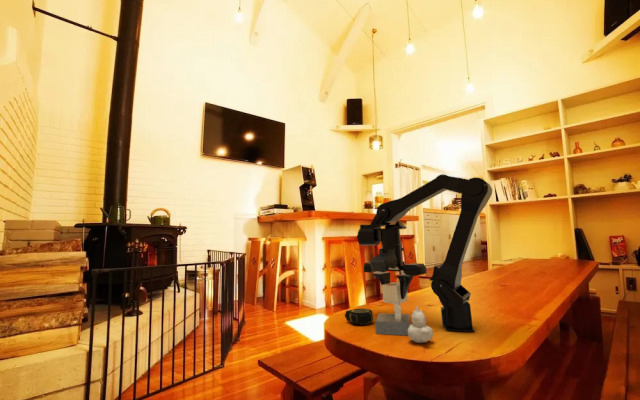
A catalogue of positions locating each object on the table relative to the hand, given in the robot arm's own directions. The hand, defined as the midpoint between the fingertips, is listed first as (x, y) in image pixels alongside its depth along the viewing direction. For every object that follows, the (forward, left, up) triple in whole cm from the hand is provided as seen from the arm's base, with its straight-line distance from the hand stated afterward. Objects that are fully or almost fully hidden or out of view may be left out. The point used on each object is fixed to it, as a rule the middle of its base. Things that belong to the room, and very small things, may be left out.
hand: (395, 297), depth 84 cm
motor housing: (0, +10, -6) cm, 12 cm away
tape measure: (+10, +5, -6) cm, 13 cm away
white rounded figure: (-6, +18, -6) cm, 20 cm away
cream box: (0, 0, -1) cm, 1 cm away
